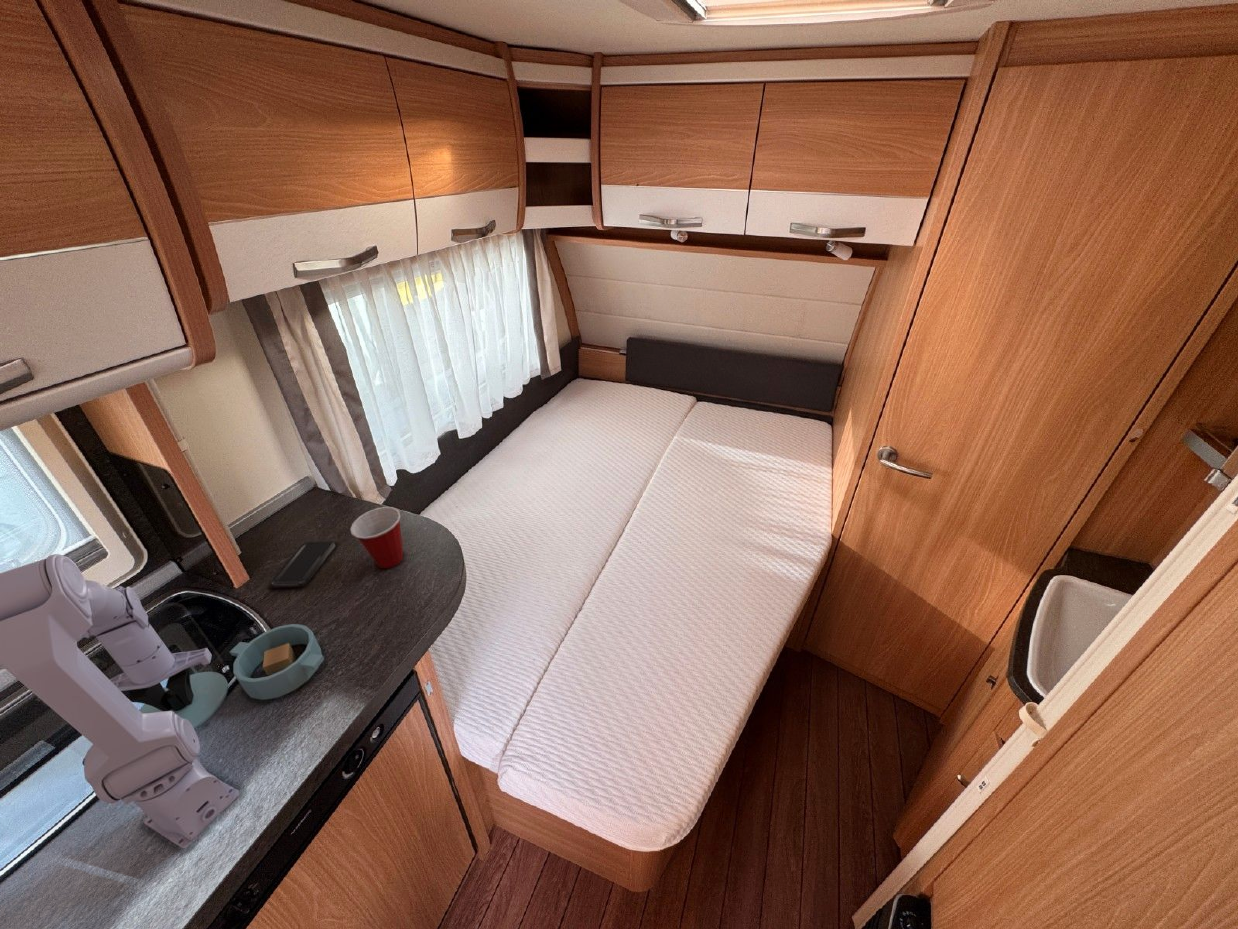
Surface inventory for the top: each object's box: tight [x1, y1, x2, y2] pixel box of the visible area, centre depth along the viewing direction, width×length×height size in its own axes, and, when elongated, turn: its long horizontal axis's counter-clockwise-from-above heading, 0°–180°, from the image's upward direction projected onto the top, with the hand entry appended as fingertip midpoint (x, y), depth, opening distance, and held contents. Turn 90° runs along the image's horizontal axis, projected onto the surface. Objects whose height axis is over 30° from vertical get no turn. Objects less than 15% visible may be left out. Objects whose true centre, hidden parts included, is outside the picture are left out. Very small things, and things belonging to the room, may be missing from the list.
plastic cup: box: [350, 506, 404, 569], centre depth 118 cm, size 11×11×12 cm
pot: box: [229, 623, 325, 701], centre depth 94 cm, size 13×18×5 cm
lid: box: [138, 671, 229, 730], centre depth 88 cm, size 14×14×4 cm
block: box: [262, 643, 297, 676], centre depth 94 cm, size 4×4×4 cm
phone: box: [270, 540, 336, 589], centre depth 121 cm, size 8×1×15 cm
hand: (180, 704), depth 88 cm, fingers closed on lid, 2 cm apart
